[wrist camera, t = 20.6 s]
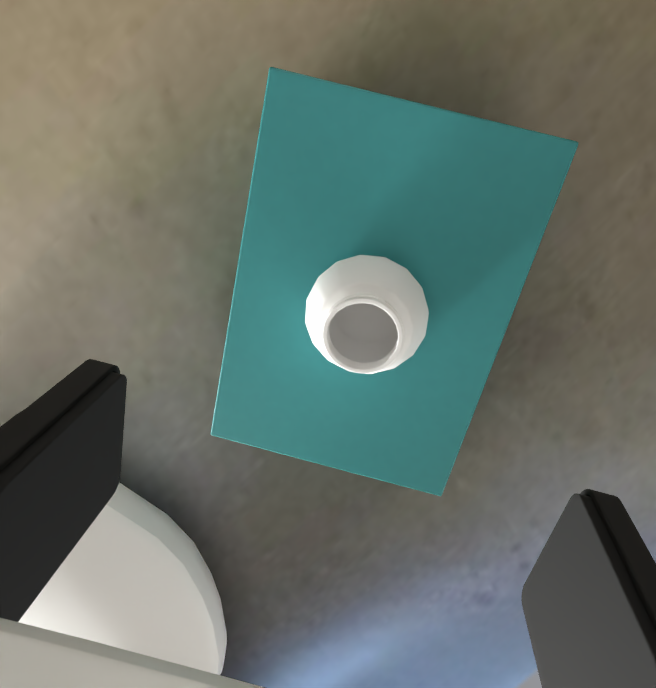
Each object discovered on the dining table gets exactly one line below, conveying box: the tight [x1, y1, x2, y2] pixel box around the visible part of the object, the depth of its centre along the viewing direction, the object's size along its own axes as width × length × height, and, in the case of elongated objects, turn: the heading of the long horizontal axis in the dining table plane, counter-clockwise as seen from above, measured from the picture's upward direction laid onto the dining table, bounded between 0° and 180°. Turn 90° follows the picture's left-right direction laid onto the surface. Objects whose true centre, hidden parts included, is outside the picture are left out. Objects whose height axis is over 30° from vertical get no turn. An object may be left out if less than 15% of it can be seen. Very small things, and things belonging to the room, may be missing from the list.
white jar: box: [305, 255, 429, 374], centre depth 21 cm, size 5×3×5 cm
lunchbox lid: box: [211, 67, 578, 496], centre depth 23 cm, size 16×12×1 cm
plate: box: [19, 483, 227, 675], centre depth 39 cm, size 28×6×27 cm
